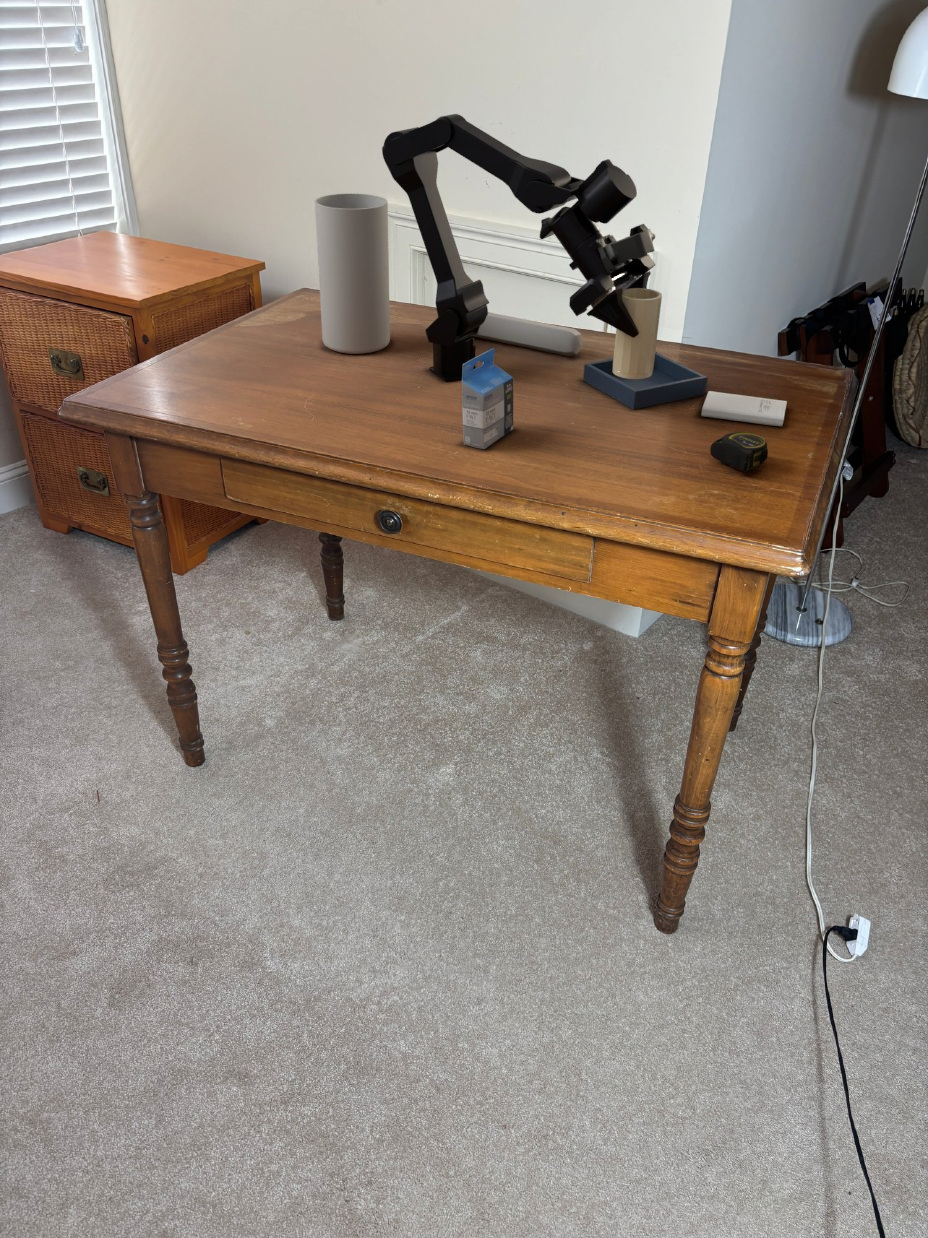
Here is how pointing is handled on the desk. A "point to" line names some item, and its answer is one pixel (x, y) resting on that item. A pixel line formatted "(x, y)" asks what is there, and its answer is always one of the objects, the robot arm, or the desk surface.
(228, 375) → the desk surface
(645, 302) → the pencil cup
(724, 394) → the hard drive
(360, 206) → the cylinder vase
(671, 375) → the tray
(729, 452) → the tape measure
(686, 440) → the desk surface
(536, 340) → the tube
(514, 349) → the desk surface
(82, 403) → the desk surface
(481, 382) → the label tape box
